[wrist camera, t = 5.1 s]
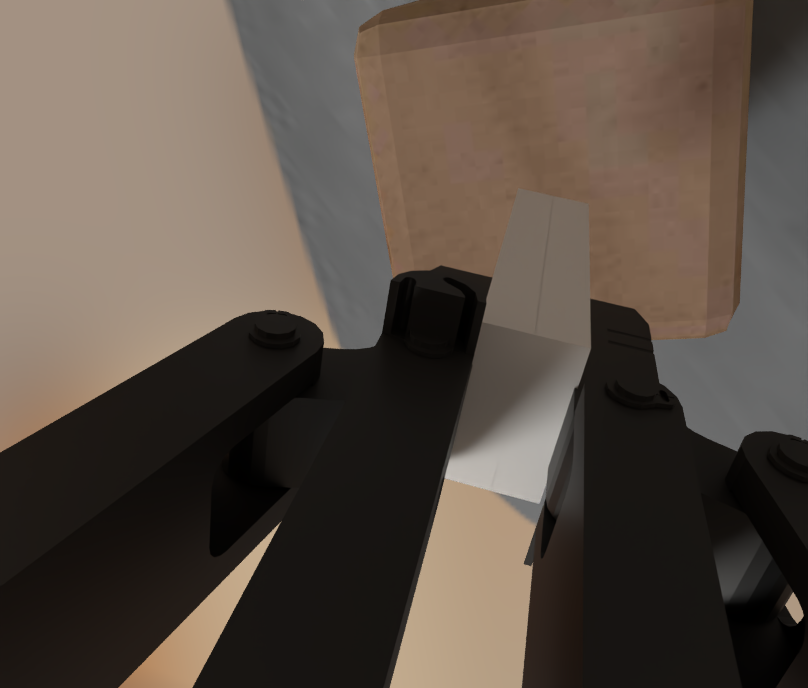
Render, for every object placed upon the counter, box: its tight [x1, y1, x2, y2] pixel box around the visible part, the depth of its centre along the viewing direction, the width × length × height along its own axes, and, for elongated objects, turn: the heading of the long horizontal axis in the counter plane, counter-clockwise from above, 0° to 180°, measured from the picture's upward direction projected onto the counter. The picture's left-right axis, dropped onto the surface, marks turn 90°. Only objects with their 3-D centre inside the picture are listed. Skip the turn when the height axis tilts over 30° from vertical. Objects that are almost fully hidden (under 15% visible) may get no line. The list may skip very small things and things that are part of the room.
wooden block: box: [354, 0, 753, 340], centre depth 28 cm, size 10×10×20 cm
